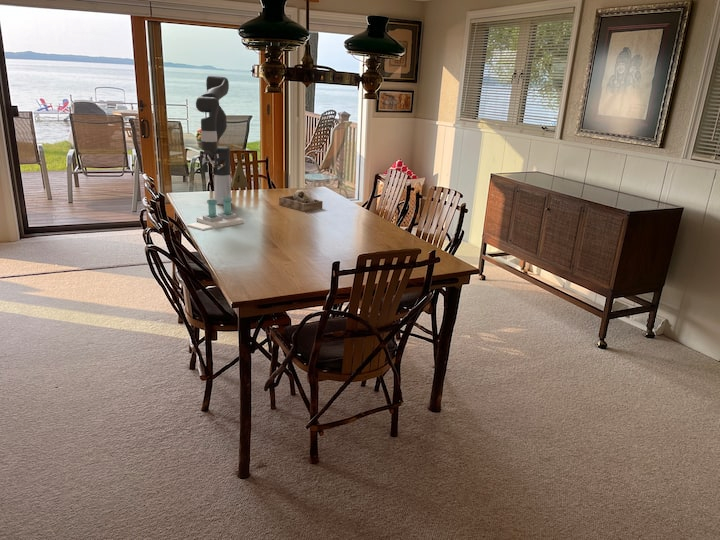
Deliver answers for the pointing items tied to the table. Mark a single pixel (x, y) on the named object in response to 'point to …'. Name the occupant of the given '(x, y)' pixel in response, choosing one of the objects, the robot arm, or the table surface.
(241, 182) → the pyramid
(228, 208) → the teal flared handle
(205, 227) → the lid
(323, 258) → the table surface
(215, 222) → the housing
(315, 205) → the brown wooden tray
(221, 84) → the robot arm
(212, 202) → the teal round-knobbed peg
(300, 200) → the animal skull replica
